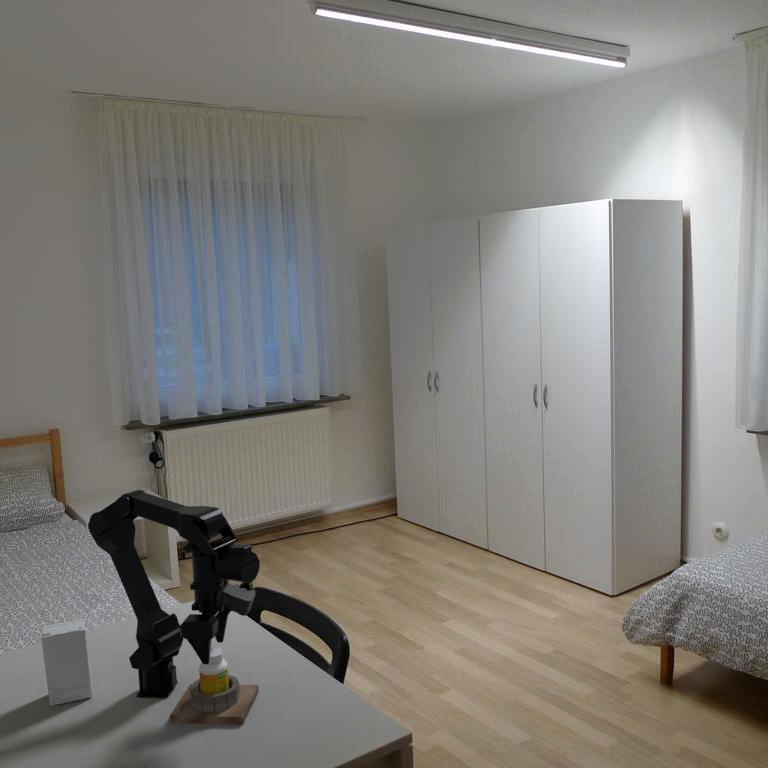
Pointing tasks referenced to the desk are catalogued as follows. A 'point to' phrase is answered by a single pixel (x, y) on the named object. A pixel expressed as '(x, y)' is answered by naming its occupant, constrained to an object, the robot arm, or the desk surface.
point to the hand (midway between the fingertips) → (213, 652)
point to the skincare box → (67, 662)
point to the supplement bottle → (214, 673)
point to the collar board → (217, 716)
